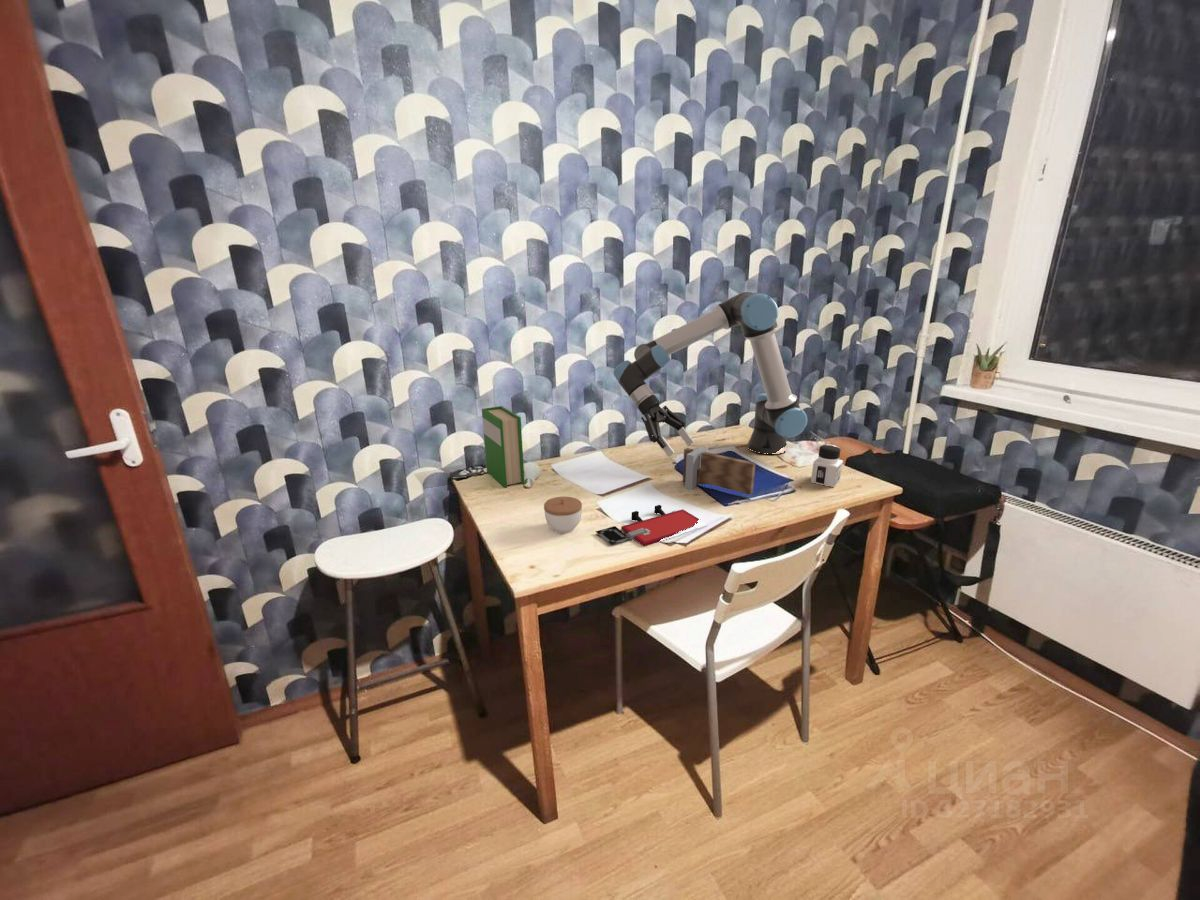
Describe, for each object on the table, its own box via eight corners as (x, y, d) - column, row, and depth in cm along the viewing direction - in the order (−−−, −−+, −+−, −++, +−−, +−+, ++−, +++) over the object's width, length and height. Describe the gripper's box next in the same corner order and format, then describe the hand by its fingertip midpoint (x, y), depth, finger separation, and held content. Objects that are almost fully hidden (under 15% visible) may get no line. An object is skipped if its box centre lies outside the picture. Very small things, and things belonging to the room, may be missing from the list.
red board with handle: (591, 531, 151) (620, 555, 139) (591, 522, 150) (621, 546, 138) (674, 508, 166) (707, 528, 154) (675, 500, 165) (708, 519, 153)
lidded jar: (537, 528, 153) (535, 498, 150) (565, 516, 160) (564, 488, 157) (561, 541, 146) (560, 510, 143) (590, 528, 153) (589, 498, 150)
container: (833, 488, 179) (839, 451, 174) (810, 483, 183) (815, 447, 179) (840, 481, 184) (845, 445, 180) (817, 476, 189) (821, 441, 185)
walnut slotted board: (682, 482, 185) (684, 449, 181) (685, 480, 186) (686, 447, 182) (749, 499, 170) (753, 464, 167) (752, 497, 172) (755, 462, 168)
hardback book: (524, 483, 185) (520, 417, 177) (504, 488, 181) (499, 420, 173) (506, 468, 199) (501, 406, 191) (487, 472, 196) (481, 408, 188)
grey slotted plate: (685, 487, 180) (686, 454, 176) (699, 478, 187) (700, 446, 183) (691, 489, 179) (693, 456, 175) (705, 480, 186) (707, 448, 182)
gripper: (657, 399, 197) (691, 445, 194) (618, 414, 179) (655, 465, 175) (670, 387, 193) (705, 434, 189) (631, 401, 174) (670, 453, 170)
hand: (681, 449), depth 182 cm, fingers open, 13 cm apart
